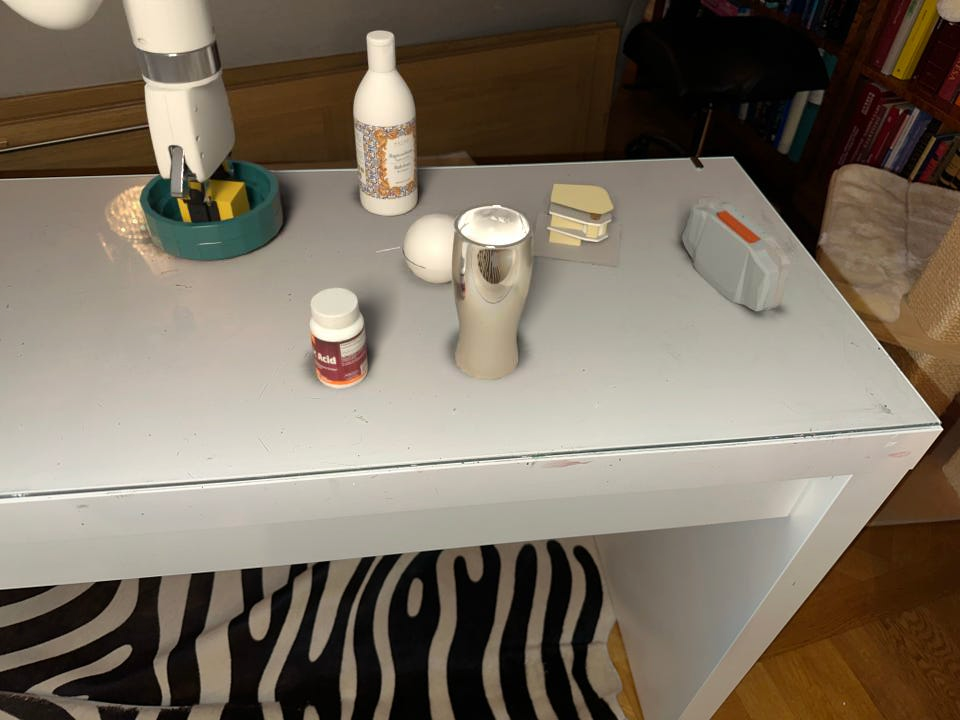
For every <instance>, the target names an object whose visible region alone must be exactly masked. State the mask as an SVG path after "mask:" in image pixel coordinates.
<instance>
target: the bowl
mask: <svg viewBox="0 0 960 720" xmlns="http://www.w3.org/2000/svg"><path fill="white" fill-rule="evenodd" d="M231 162H232V165H233V168H234V173H233V175H232V176H230V177H234V182H243V183H244V184H245V189H246V194H247V199H248V204H249V209H250V211H248V212H246V213H244V214H241V215H239V216H237V217H234V218H229V219H225V220H221V221H216V222H203V223H190V222H183V218H182V214H181V211H180V207H179V203H178V200H177V198H174V197H172V196H171V178H170V179H163V178H162V176H161V174H160V173H159V174H157V175H156V176H154V177H153V178H150V180H149V181H148V183H147V184H145V186H144V187H143V188H142V189H141V192H140V196H139V204H140V207H141V211H142V215H143V217H144V221H145V224H146V226H147V227H146V228H147V230H148V233H149V236H150V238H151V241H152V243H153V245H155V246H156V247H157V248H159V249H160V250H161V251H163V252H164V253H166V254H169V255H172V256H175V257H178V258H181V259H186V260H187V259H188V260H193V261H203V262H205V261H207V262H208V261H209V262H211V261H221V260H222V261H223V260H229V259H234V258H237V257H240V256H243V255H246V254H248V253H250V252H252V251H255V250H257V249H258V248H260V247H262V246H264V245H265V244H267V243H268V242H269V241H270V240H271V239H273V238H274V237H275V236H276V235H278V233H279V231H280V230H281V228H282V226H283V224H284V211H283V205H282V198H281V193H280V186H279V181H278V179H277V178H276V176H275V175H274V173H273V171H271V170H269V169H268V168H266V167H265V166H263V165H260V164H258V163H255V162H251V161H248V160H243V159H236V158H235V159H234V158H231ZM188 173H192V171H191V170H189V171H188ZM192 174H196V173H192Z"/></svg>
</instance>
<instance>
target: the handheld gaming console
mask: <svg viewBox="0 0 960 720" xmlns="http://www.w3.org/2000/svg"><path fill="white" fill-rule="evenodd" d="M681 237H682V242H683V245H684V248H685V250H686V251H687V253H688V254H689V256H690V257H691V259H692V263H693V267H694V269H695V270H696V271H697V272H698V274H699V275H700V276H701V277H702V278H703V279H704V280H705V281H706V282H707V283H708V284H709V285H710V286H711V287H712V288H714V289H715V290H716V291H717V292H718V293H719V294H721V295H722V296H723V297H725V298H726V299H727V300H729V301H730V302H732V303H735V304H739V305H743V306H745V307H747V308H748V309H750V310H752V311H754V312H760V311H764V310H765V311H768V310H773V309H776V308H777V307H778V306H779V304H781V302H782V300H783V299H782V298H783V296H784V293H785V288H786V286H787V281H788V275H789V271H790V266H791V260H790V258H789V257H788V255H787V254H786V252H784V251H783V249H782V248H781V247H780V245H779V244H778V242H777V240H776V239H775V237H774V236H773V235H772V234H770V233H769V232H768V231H767V230H766V229H764V228H763V227H762V226H761V225H759V224H758V223H757V222H755V221H754V220H753V219H751V218H750V217H749V216H748V215H746V214H745V213H744V212H742V211H741V210H740V209H739V208H738V207H736V206H735V205H734V204H732V203H731V202H725V201H720V200H719V199H717V198H715V197H713V196H711V195H708V196H704V197H701V198H700V199H699V203H697V204H695V205H693V206H691V209H690V213H689V217H688V219H687V222H686V225H685V228H684V231H683V232H682V236H681Z"/></svg>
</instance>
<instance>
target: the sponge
mask: <svg viewBox="0 0 960 720" xmlns="http://www.w3.org/2000/svg"><path fill="white" fill-rule="evenodd" d="M190 184H191V188H193V189H198V190H199V191H201V184H200V183H197V182H190ZM210 186H211V195H212V201H216V202H217V207H218V211H219V215H220V220H225V219H229V218H234V217H237V216H239V215H241V214H244V213H246V212H248V211H250V209H249V204H248V199H247V194H246V189H245V184H244V183H243V182H233V181H221V180H210ZM177 200H178V203H179V207H180V211H181V214H182V218H183V222H190V223H191V219H190V215H189V211H188V208H187V204H184V202H183V200H181V199H179V198H177Z"/></svg>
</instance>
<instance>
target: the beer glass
mask: <svg viewBox="0 0 960 720" xmlns="http://www.w3.org/2000/svg"><path fill="white" fill-rule="evenodd" d="M455 218H456V219H455V221H454V234H453V243H452V254H451V279H452V281H451V287H452V294H453V299H454V303H455V308H456V313H457V317H458V324H459V326H458V327H459V334H458V339H457V344H456V347H455V351H454V361H455V364H456V366H457V368H458V369H459V370H460V371H461V372H462V373H464V374H465V375H467V376H469V377H471V378H474V379H477V380H483V381H494V380H498V379H501V378H504V377H507V376H508V375H510V374H511V373H513V371H514V370H516V368H517V366H518V363H519V348H518V342H517V331H518V326H519V323H520V319H521V317H522V314H523V309H524V307H525V305H526V304H525V303H526V302H527V301H526V300H527V297H528V293H529V289H530V286H531V280H532V274H533V273H532V272H533V261H534V256H533V236H534V230H535V228H534V223H533V220H532V218H531V217H530V216H529V215H528V214H526V213H525V212H524V211H522V210H521V209H519V208H516V207H513V206H510V205H507V204H501V203H481V204H477V205H472V206H469V207H467V208H465V209H463V210H462V211H461V212H460V213H458V214H457V215H456V217H455Z"/></svg>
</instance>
